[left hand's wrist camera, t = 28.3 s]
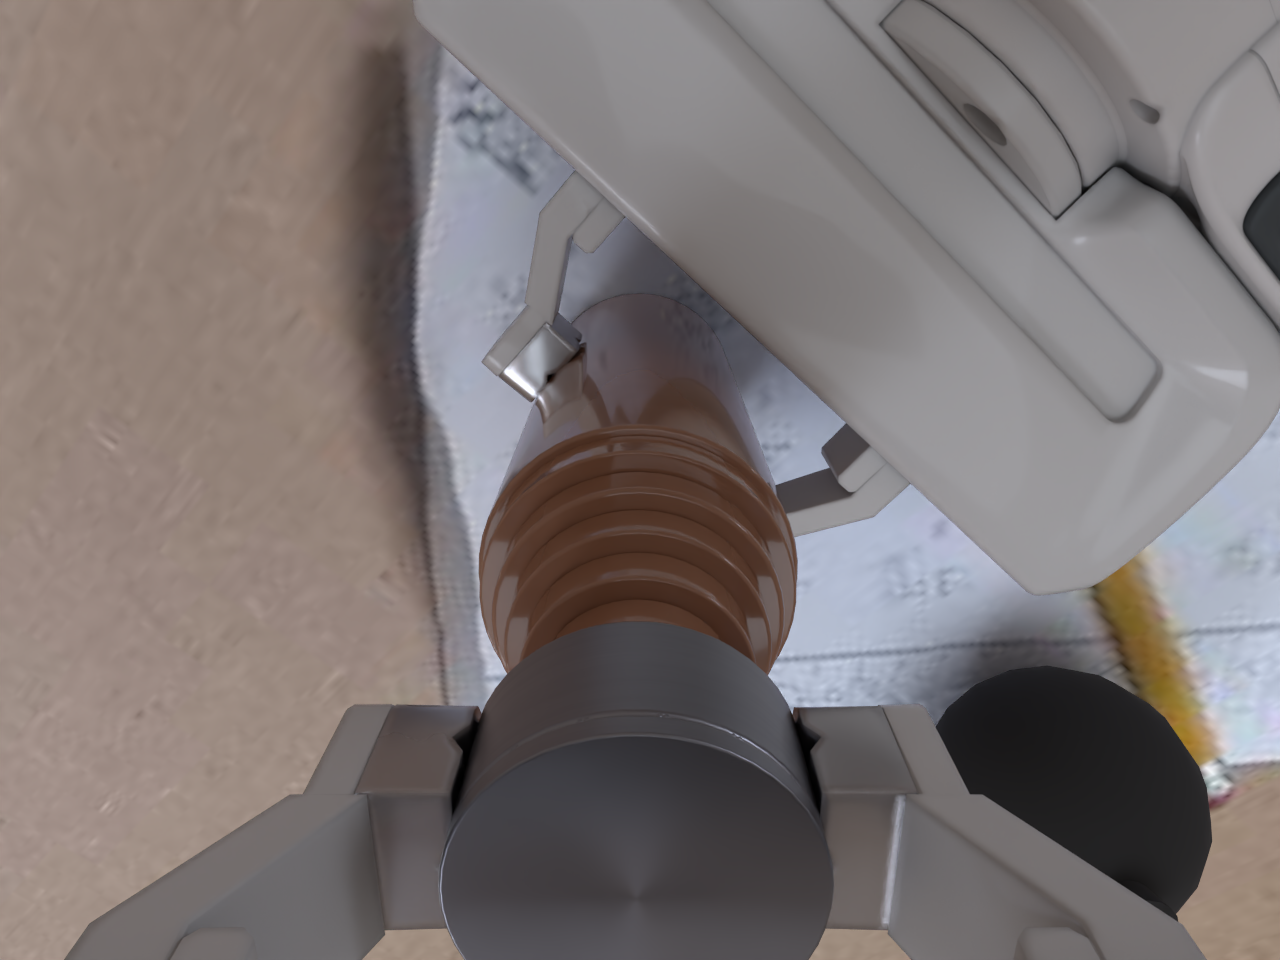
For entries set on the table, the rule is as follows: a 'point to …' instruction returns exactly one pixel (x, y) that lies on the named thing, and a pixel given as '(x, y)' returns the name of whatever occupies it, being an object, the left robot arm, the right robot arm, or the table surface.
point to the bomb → (1087, 775)
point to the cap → (636, 809)
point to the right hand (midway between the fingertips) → (616, 468)
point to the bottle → (639, 496)
